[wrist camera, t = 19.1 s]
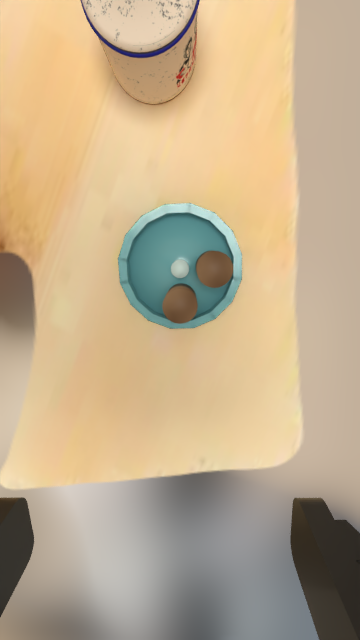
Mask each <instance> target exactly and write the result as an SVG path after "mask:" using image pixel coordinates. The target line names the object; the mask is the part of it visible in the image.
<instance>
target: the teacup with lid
mask: <svg viewBox="0 0 360 640" xmlns="http://www.w3.org/2000/svg"><path fill="white" fill-rule="evenodd" d="M199 1H200V0H81V3H82V7H83V10H84V13H85V15H86V18H87V20H88V22H89V24H90V26H91V27H92V29H93V30H94V32H95V33H96V35H97V36H98V37H99V40H100V42H101V44H102V46H103V49H104V51H105V53H106V56H107V58H108V60H109V63H110V65H111V67H112V69H113V72H114V74H115V76H116V78H117V80H118V82H119V84H120V85H121V86H122V88H123V89H124V90H125V91H126V92H127V93H128V94H129V95H130V96H132V97H133V98H135V99H136V100H139V101H141V102H144V103H149V104H158V103H163V102H166V101H168V100H170V99H172V98H174V97H175V96H177V95H178V94H179V93H180V92H181V91H182V90H183V89H184V88H185V86H186V85H187V83H188V82H189V80H190V78H191V75H192V73H193V70H194V66H195V60H196V38H197V9H198V5H199Z"/></svg>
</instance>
